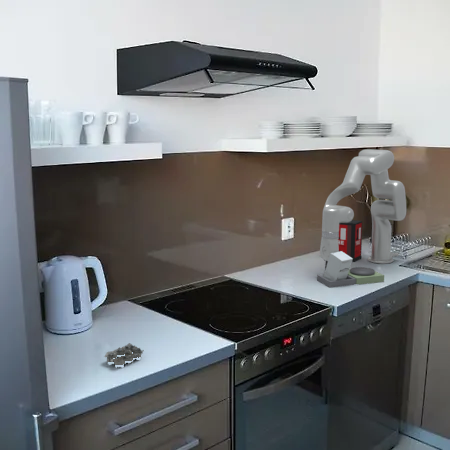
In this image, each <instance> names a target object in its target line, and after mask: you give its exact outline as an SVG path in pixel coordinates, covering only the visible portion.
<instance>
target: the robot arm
mask: <svg viewBox="0 0 450 450" xmlns="http://www.w3.org/2000/svg"><path fill="white" fill-rule="evenodd" d="M394 162H395V155H394V153H393V152H392V151H391V150H387V149H373V148H372V149H370V148H367V149H362V150H360V151H359V152H358V156H354V157H353V158H352V159H351V160H350V163H349V165H348V169H347V171H346V173H345V176H344V178H343V182H342V183H341V184H340V185H339V186H337V187H336V188H335V189H334V190H333V191H332V192H330V194H328V196H327V198H326V201H325V203H324V206H323V209H322V218H321V219H322V222H321V223H322V224H321V239H320V246H319V248H320V249H319V257H320V258H321V259H322V260H323V261H324V269H325V270H326V266H327V263H328V260H329V257H330V254H331V253H335V252H339V245H338V239H339V223H348V222H350V221H351V220H354V217H355V213H354V210H353V209H352V208H351V207H349V206H345V205H337V204H338V203H339V202H340V201H341V200H342V199H344V198H345V197H349V196H351V195H353V194H355V193H358V192H360V190H361V187H362V185H363V182H364V180H365V177H366V176H367V175H368V176H370V183H371V185H370V186H371V191H372V196H373V197H374V198H376V200H375V201H373V202H372V204H371V206H370V214H371V223H372V225H371V227H372V229H371V256H368V258H367V260H368V262H371V263H374V264H392V263H394V257H399V252H393V251H391V250H392V249H391V248H392V231H393V230H392V224H391V222H390V221H397V222H398V221H399V222H400V221H403V220H405V218H406V215H407V197H406V188H405V185H404V184H403V182H401V181H399V180H392V179H390V176H389V172H388V171H389V170H388V169H390V168H391V167H392V166H393V165H394ZM325 270H324V271H325Z"/></svg>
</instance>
